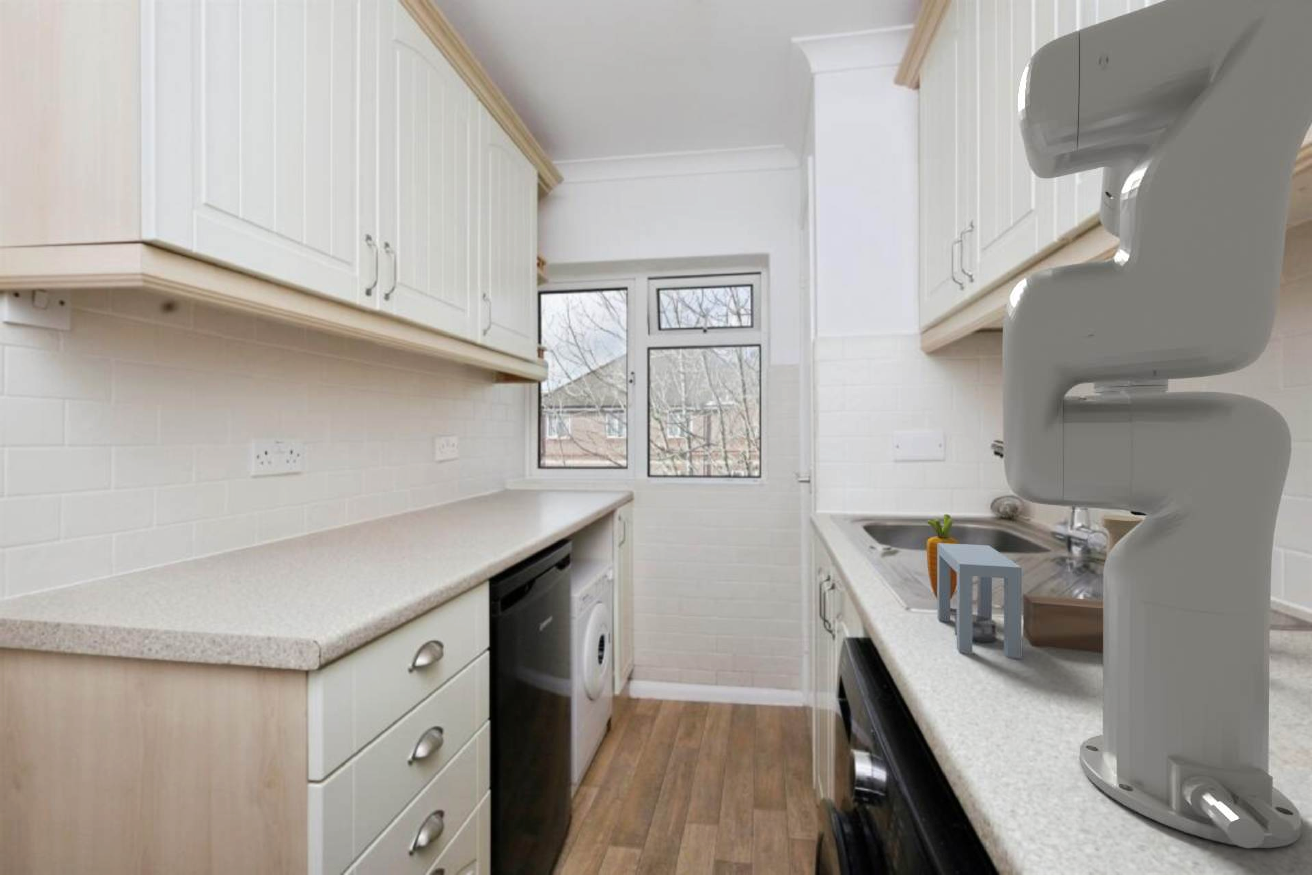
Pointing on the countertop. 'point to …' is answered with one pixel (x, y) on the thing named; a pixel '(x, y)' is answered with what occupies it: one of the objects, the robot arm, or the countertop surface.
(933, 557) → the carrot
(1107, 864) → the countertop surface
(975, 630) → the grey metal short cylinder
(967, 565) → the low shelf
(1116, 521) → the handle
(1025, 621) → the brown block
